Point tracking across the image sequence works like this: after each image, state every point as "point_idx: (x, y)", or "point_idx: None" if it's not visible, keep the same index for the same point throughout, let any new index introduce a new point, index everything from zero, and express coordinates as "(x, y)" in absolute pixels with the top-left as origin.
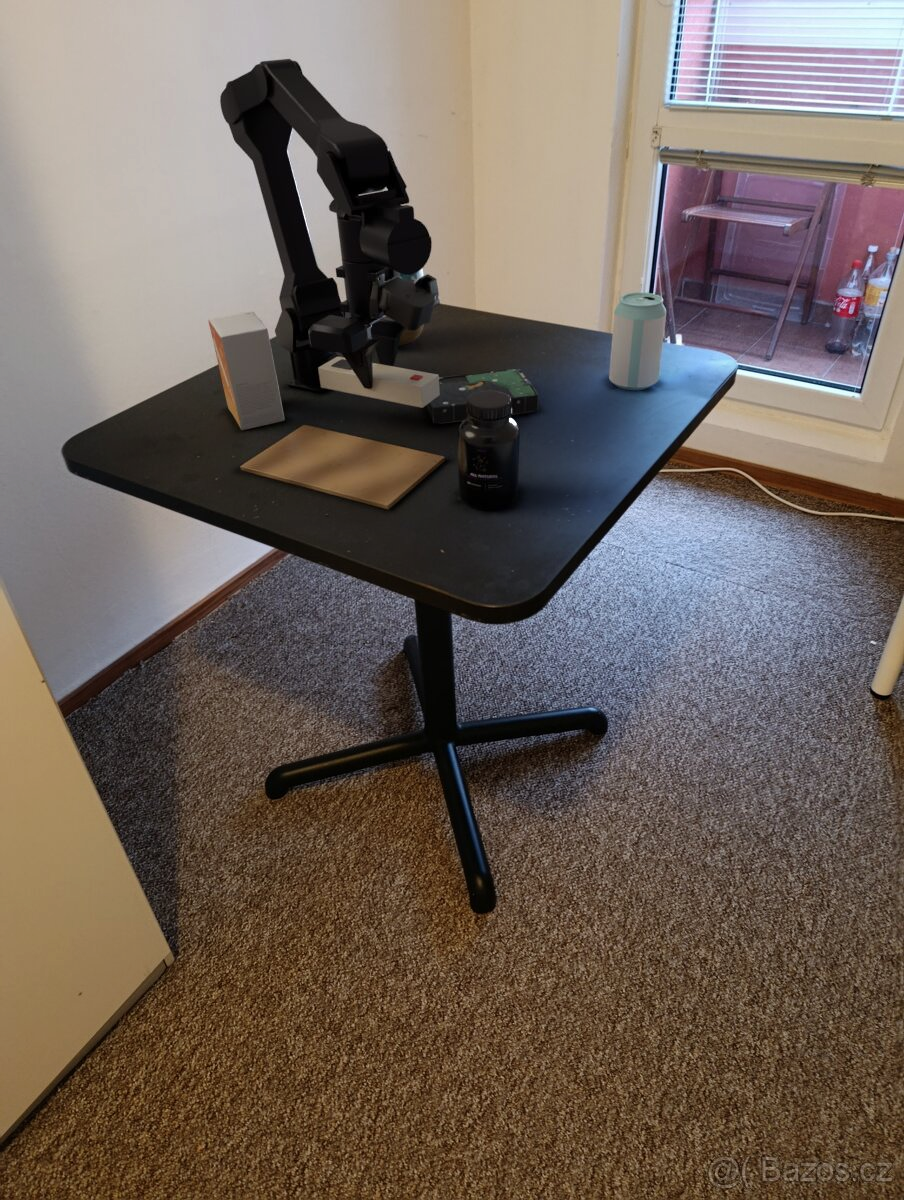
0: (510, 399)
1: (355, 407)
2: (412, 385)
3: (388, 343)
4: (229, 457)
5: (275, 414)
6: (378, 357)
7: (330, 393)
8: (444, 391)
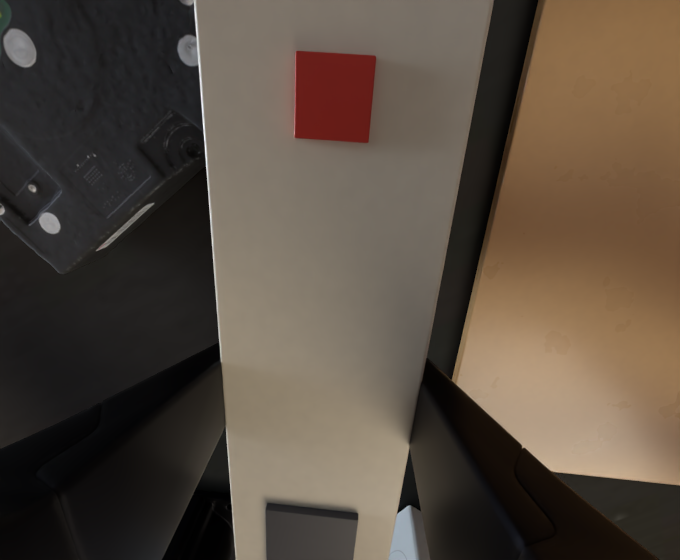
0: None
1: None
2: (483, 54)
3: (121, 495)
4: (624, 522)
5: None
6: (206, 460)
7: (226, 478)
8: (91, 123)
